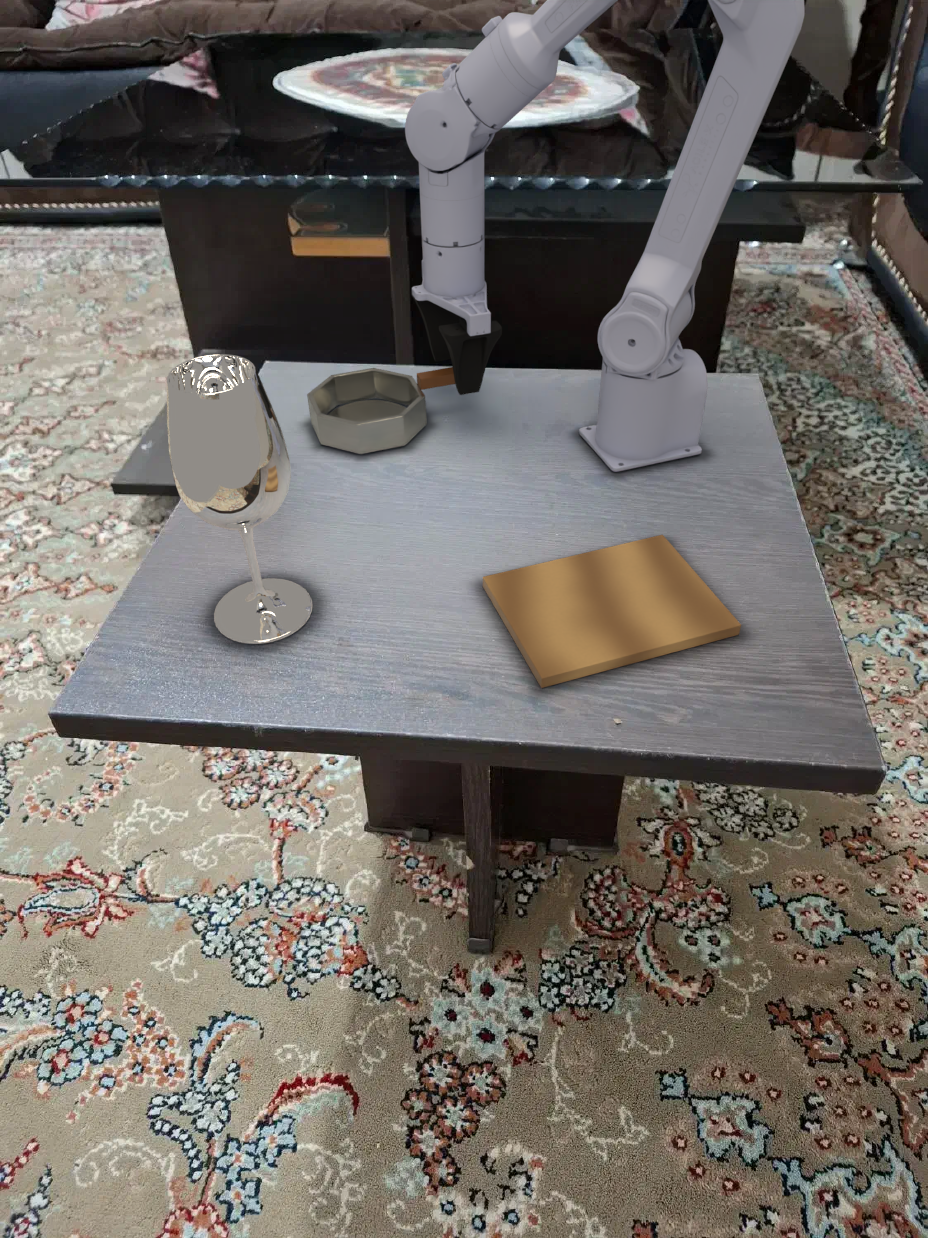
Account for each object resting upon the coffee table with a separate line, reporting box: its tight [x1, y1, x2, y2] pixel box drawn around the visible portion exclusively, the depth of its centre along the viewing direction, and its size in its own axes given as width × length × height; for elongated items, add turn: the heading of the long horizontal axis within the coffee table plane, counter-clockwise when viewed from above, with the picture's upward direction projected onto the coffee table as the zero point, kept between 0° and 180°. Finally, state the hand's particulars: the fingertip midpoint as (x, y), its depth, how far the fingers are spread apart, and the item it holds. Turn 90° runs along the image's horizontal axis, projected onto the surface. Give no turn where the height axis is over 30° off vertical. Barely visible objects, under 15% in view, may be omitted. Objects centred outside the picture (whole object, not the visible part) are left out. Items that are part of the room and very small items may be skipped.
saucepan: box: [306, 366, 456, 455], centre depth 90 cm, size 18×11×4 cm, turn 109°
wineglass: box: [166, 353, 314, 645], centre depth 63 cm, size 8×8×20 cm
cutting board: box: [482, 534, 742, 689], centre depth 69 cm, size 16×12×1 cm
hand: (456, 374), depth 90 cm, fingers open, 7 cm apart
